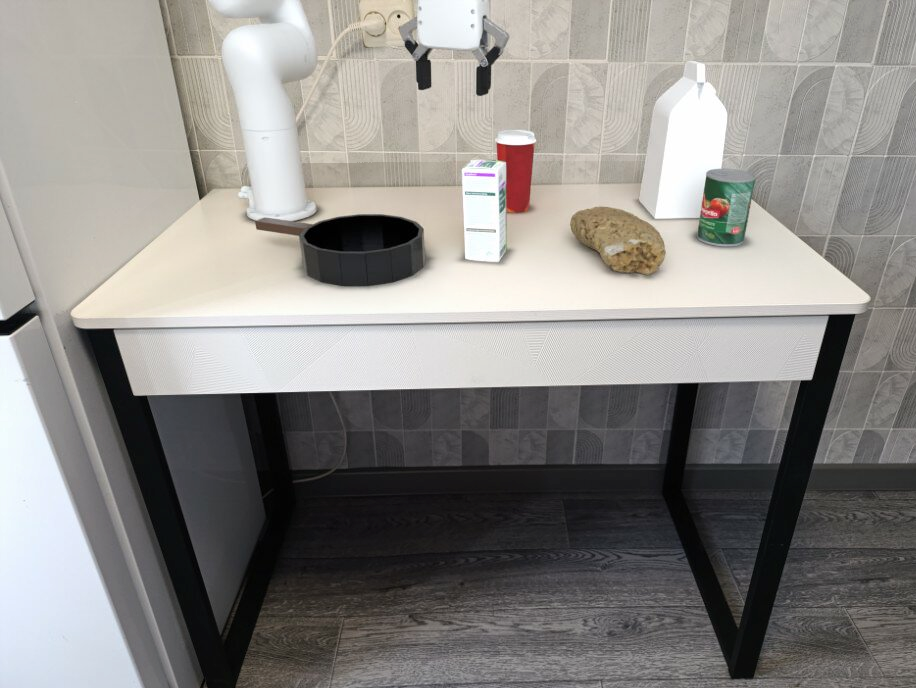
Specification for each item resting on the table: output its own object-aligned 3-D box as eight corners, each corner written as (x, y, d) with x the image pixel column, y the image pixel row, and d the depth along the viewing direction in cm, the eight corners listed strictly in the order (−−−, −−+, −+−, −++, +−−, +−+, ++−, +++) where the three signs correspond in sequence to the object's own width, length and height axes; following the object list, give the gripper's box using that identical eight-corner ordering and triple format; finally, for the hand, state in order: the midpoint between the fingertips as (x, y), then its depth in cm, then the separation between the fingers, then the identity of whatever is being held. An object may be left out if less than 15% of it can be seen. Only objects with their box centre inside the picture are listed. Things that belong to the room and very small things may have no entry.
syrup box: (499, 262, 109) (500, 168, 101) (463, 259, 110) (461, 166, 102) (507, 250, 113) (508, 160, 106) (472, 248, 114) (470, 158, 107)
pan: (225, 265, 107) (219, 234, 104) (298, 230, 122) (294, 202, 119) (387, 294, 98) (384, 260, 95) (444, 252, 113) (443, 222, 110)
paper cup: (541, 206, 135) (544, 131, 128) (521, 216, 129) (522, 138, 122) (507, 200, 139) (508, 127, 132) (486, 209, 133) (486, 133, 126)
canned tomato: (752, 238, 119) (764, 174, 114) (730, 250, 114) (742, 183, 109) (710, 228, 124) (720, 166, 118) (687, 239, 119) (697, 174, 113)
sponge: (671, 283, 105) (644, 217, 120) (671, 239, 100) (643, 176, 114) (585, 298, 106) (569, 231, 121) (580, 255, 101) (564, 190, 115)
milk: (638, 200, 139) (654, 58, 126) (695, 199, 140) (716, 58, 127) (654, 218, 129) (673, 66, 116) (715, 217, 130) (740, 66, 117)
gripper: (520, -38, 96) (515, 93, 105) (410, -42, 102) (414, 84, 111) (499, -39, 90) (496, 100, 99) (384, -43, 96) (390, 90, 105)
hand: (453, 91), depth 105 cm, fingers open, 9 cm apart
